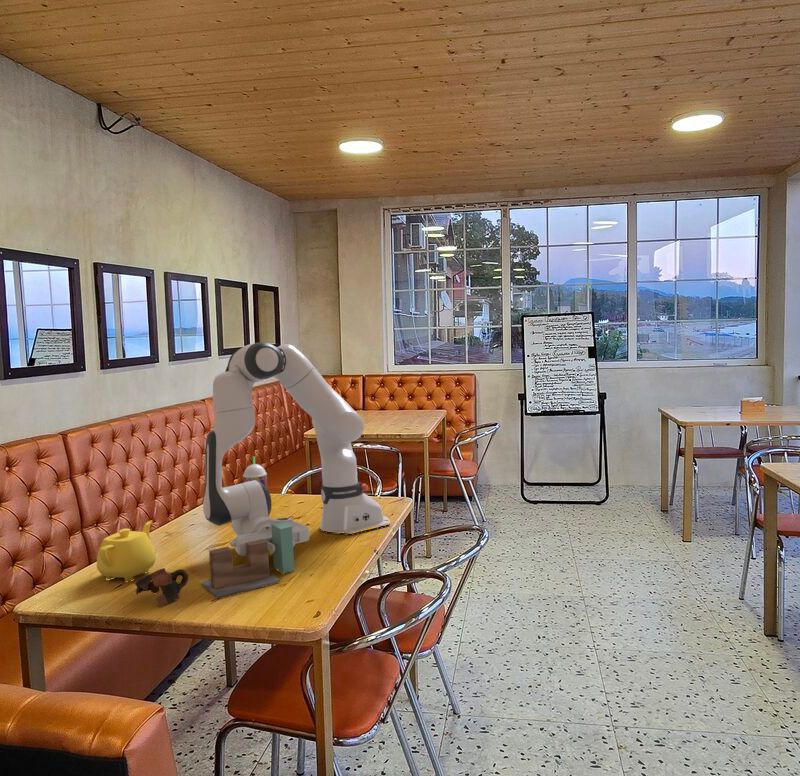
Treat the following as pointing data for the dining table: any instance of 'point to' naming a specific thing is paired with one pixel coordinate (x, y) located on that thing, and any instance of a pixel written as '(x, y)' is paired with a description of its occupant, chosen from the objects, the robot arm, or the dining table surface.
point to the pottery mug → (163, 585)
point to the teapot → (126, 554)
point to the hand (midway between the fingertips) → (284, 546)
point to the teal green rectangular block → (283, 547)
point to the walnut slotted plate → (239, 570)
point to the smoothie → (255, 473)
